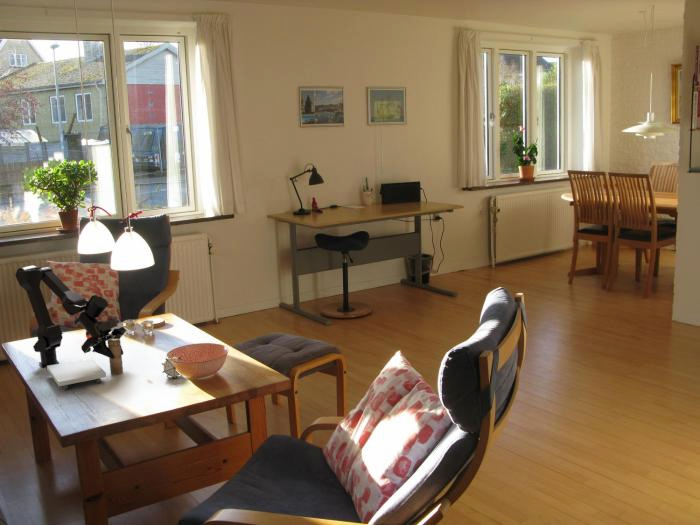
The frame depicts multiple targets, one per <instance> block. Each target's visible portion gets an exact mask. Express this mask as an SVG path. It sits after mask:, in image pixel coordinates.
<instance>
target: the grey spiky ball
mask: <svg viewBox="0 0 700 525" xmlns="http://www.w3.org/2000/svg"><path fill="white" fill-rule="evenodd" d="M172 355H173V356H174V354H171V356H172ZM181 358H182V356H179V357H177V356H174V357H173V358H172V359H171V358H170V357H168V358H167V357H166V358H165V361H164V363H161V365H162V366H163V371H162V372H161V373H162V374H163V373H165V374H166V378H167V377H169V376H170V377H172V378H173V379H174V380H176V378H177V377H178V376H179V375H180V374H179V373H178V372H177V371H176V367H175V365H174V364H173V363H172V361H174V360H175V361H181V360H182V359H181ZM180 376H181V375H180Z"/></svg>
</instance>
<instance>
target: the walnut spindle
mask: <svg viewBox="0 0 700 525" xmlns="http://www.w3.org/2000/svg"><path fill="white" fill-rule="evenodd" d="M107 347H108V348H109V349H110V351H111V352H112V353H113V355H114V356H115V358H114V359H111V358H109V357H108V358H109V359H108V360H109V370H110V375H111V376H112V375H113V376H117V375H121V374H123V373H124V368H123V355H121V347H122V344H121V338H120V339H111V340H108V341H107Z"/></svg>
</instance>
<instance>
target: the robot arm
mask: <svg viewBox="0 0 700 525" xmlns="http://www.w3.org/2000/svg"><path fill="white" fill-rule="evenodd" d="M15 278H16V280H17V283H18V284H19V286H20V287H21V288H22V289H24V290H25V291H26V293H27V296H28V299H29V302H30V306H31V309H32V310H33V314H34V317H35V320H36V322H37V326H38V328H37V332H36V337H37V341H36V342H35V343H34V345H33V350H34V352H35V353H39V354H40V355H39V356H40V362H38V364H39V366H40V367H41V368H47V366H49V365H55V364H60V362H59V361H58V358H57V348H59V347H61V344H62V340H63V334H64V333H63V332H62V329H61V325H60V324H56V323H54V322H53V321H52V318H51V315H50V312H49V309H48V307H47V303H46V301H45V298H44V295H43V292H42V288H41V282H43V283H44V285H46V287H48V288H49V290H51V291H52V293H53V294H54V295H55V296H56V297H57V298H58V299H59V301H61V306H62V309H63V310H64V311H65V312H66V313H67V314H68V315H69V316H75V315H77V314H79V315H78V316H75V317H74V325H79V324H80V325H81V326H82V328H84V330H85V336H86V335H87V336H88V335H90V336H91V338H88V339H87V338H86V340H85V341H84V343H82V345H81V351H82V352H83V353H84V354H87V353H90V352H93V353H96V354H99V355H102V356H105V357H107V358H111V359H114V358H115V356H114V355H113V353H112V352H111V351H110V349H109V348H108V344H107V342H108V340H111V339H120V340H121V338H122V337H123V335H125V333H126V332H127V330H126V328H125V327H124V326H118V324H119V323H120V322H119V319H118V318H117V317H116V316H115V315H113V316H111V317H109V318H108V320H106V321H103V320H101V321H100V320H99V319H98V318H99V317H101V315H102V314H103V313H104V312H105V311H106V309H107V307H108V306H109V303H108V300H107V299H106V298H104V297H101V296H98V294H93V295H91V296H90V298H89V299H88V300H87V299H86V298H84V297H83V296H82V295H81V294H79V293H76V292H74V291H72V290H71V289H70V288H69V287H68V286H67V285H66V284H65V282H63V281H62V280H61V279H60V278H59V277H58V276H57V275H56V274H55V273H54V272H53V269H52V268H51V267H48V266H46V267H41V266H39V267H38V266H36V265H33V264H31V265H28V266H23V267H19V268H17V270H16V272H15ZM86 331H87V332H86ZM91 347H92V348H93V349H92V348H91ZM91 350H92V351H91ZM121 355H122V356H123V355H124V350H123V347H122V346H121Z"/></svg>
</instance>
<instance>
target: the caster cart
mask: <svg viewBox="0 0 700 525" xmlns="http://www.w3.org/2000/svg"><path fill="white" fill-rule="evenodd" d="M46 368H47V369H46V370H47V372H48V373H49V374H50V376H51V377H52V379H53V380H54V382H55V383H56V385H57V386H58V387H61V386H62V388H63V391H68V390H69V385H72V384H77V383H83V382H88V381H93V380H95V384H96V385H97V384H101V379H103V378H107V373H106V371H105V370H104V369H103V368H102V367H101V366H100V365H99V364H98V362H96V361H95V359H93V357H89V358H84V359H83V358H82V359H77V360H72V361H71V360H70V361H67V362H59V364H55V365H49V366H47V367H46Z"/></svg>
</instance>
